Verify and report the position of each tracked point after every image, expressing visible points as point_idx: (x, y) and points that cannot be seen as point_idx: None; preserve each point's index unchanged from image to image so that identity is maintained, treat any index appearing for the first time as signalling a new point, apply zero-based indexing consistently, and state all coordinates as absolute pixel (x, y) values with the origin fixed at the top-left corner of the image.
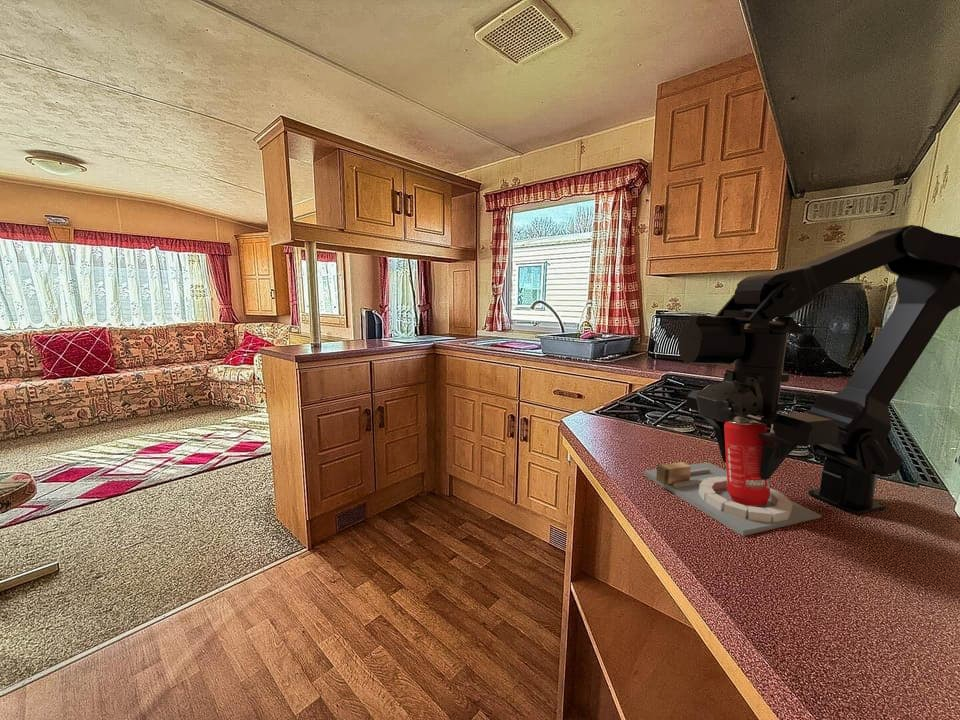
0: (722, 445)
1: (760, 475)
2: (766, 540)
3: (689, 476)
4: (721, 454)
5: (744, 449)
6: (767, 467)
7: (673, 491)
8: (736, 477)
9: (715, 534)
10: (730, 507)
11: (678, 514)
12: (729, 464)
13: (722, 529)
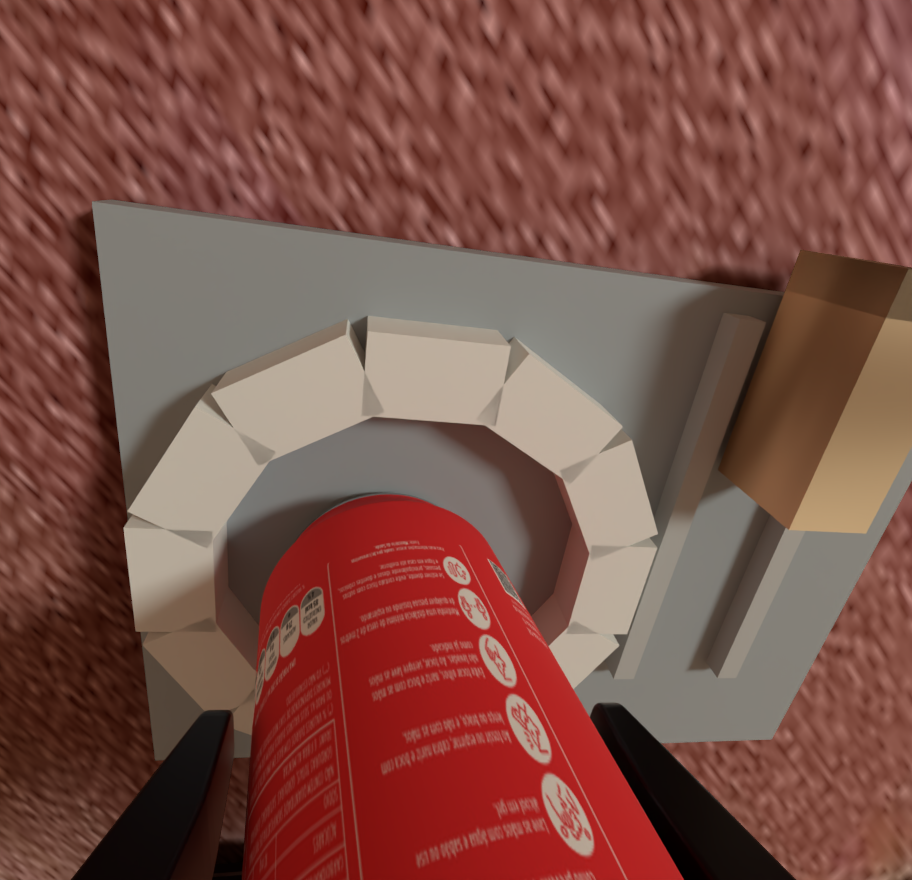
0: (718, 863)
1: (222, 732)
2: (42, 311)
3: (738, 483)
4: (667, 754)
5: None
6: (90, 857)
7: (716, 284)
8: (401, 594)
9: (183, 17)
10: (305, 348)
11: (506, 16)
12: (503, 667)
13: (228, 151)
